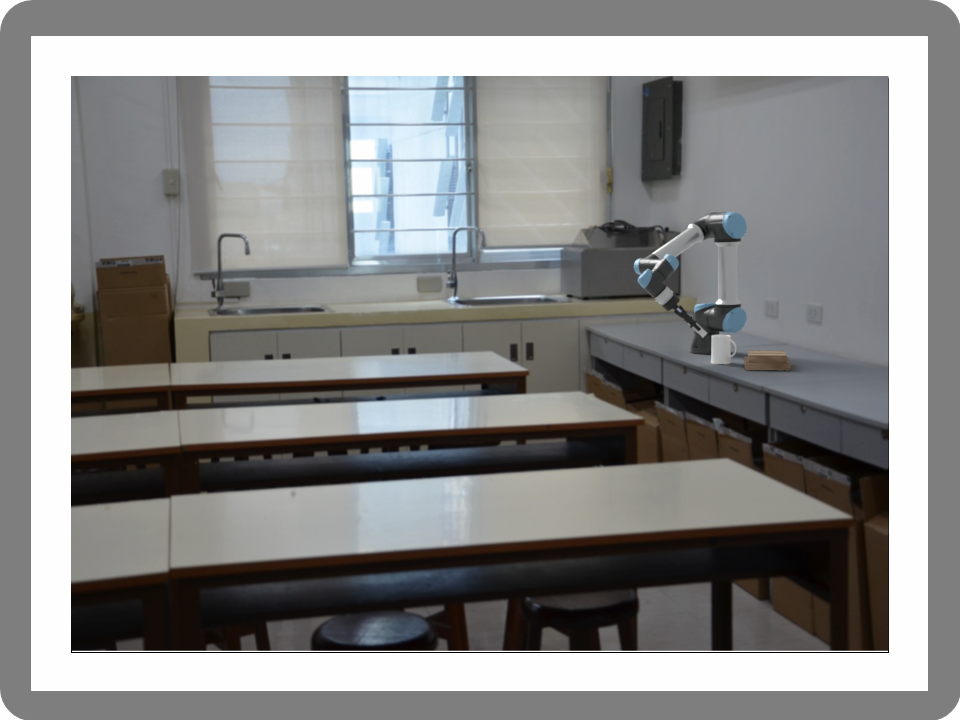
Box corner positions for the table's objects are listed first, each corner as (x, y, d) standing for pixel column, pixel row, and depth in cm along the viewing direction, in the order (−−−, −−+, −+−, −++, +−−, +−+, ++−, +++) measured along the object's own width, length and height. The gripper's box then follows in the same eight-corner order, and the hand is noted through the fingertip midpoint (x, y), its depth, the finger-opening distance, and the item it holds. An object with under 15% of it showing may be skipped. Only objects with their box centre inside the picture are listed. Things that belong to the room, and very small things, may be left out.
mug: (741, 363, 412) (741, 336, 410) (728, 366, 407) (729, 338, 405) (719, 361, 421) (719, 334, 419) (706, 363, 416) (706, 335, 414)
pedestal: (744, 363, 412) (744, 349, 411) (788, 363, 408) (788, 350, 407) (744, 370, 394) (745, 356, 393) (790, 371, 390) (791, 356, 389)
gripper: (658, 302, 424) (692, 336, 425) (664, 308, 399) (700, 343, 400) (670, 290, 423) (704, 324, 424) (677, 295, 398) (713, 330, 399)
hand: (702, 333), depth 412 cm, fingers open, 13 cm apart
